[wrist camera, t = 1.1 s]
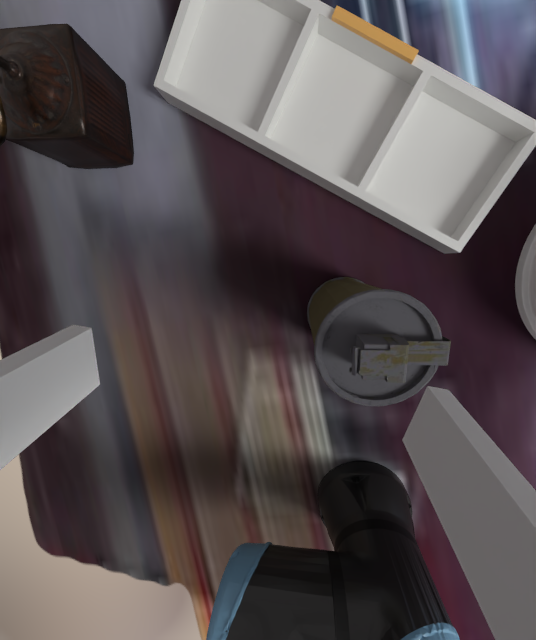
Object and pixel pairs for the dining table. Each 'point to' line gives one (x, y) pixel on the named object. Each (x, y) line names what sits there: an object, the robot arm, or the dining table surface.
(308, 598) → the robot arm
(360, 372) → the canister
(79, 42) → the pepper mill
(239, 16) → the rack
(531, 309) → the plate stack
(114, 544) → the dining table surface
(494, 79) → the dining table surface
